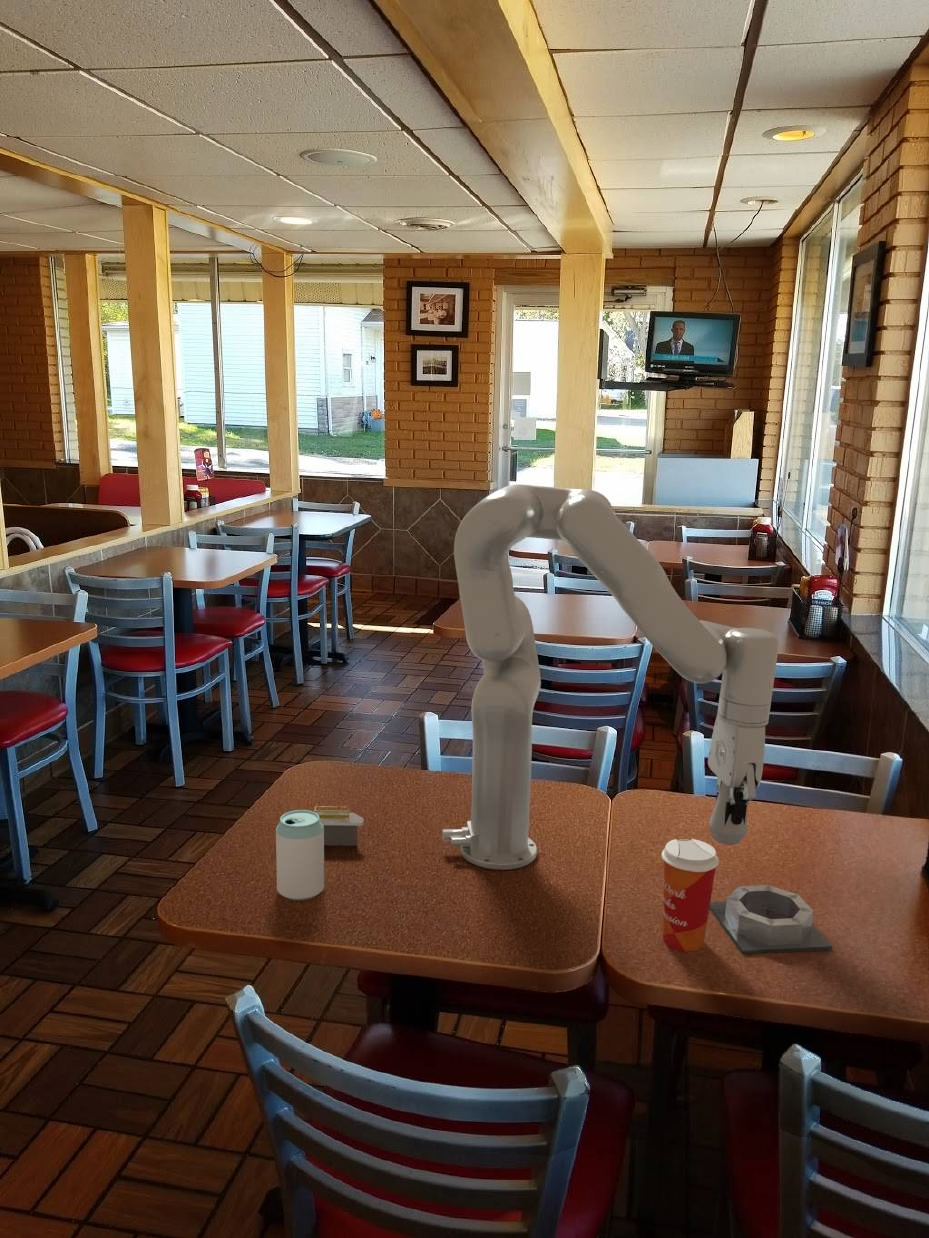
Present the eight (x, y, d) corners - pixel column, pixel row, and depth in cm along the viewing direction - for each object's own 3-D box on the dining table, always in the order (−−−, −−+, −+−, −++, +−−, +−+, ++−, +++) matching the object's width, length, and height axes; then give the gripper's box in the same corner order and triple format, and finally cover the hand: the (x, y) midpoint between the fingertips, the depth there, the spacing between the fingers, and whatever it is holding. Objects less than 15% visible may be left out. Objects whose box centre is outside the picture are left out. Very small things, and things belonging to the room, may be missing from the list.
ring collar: (742, 954, 132) (745, 930, 131) (707, 905, 144) (709, 883, 144) (831, 949, 134) (834, 926, 133) (789, 902, 146) (791, 880, 145)
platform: (285, 828, 167) (284, 793, 166) (389, 830, 168) (389, 794, 166) (274, 861, 156) (273, 823, 154) (386, 862, 156) (386, 824, 155)
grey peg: (742, 833, 154) (752, 756, 151) (748, 849, 148) (759, 770, 145) (704, 829, 154) (714, 753, 151) (710, 845, 149) (720, 766, 146)
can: (311, 906, 141) (310, 830, 139) (268, 898, 143) (266, 823, 141) (331, 884, 148) (331, 811, 145) (290, 876, 150) (289, 804, 147)
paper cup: (648, 926, 138) (655, 836, 135) (700, 925, 139) (708, 836, 136) (664, 957, 131) (671, 863, 127) (719, 956, 131) (728, 862, 128)
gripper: (700, 692, 154) (687, 799, 158) (742, 727, 138) (726, 845, 142) (745, 693, 155) (731, 799, 159) (791, 728, 139) (774, 845, 143)
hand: (729, 820), depth 150 cm, fingers closed on grey peg, 3 cm apart
